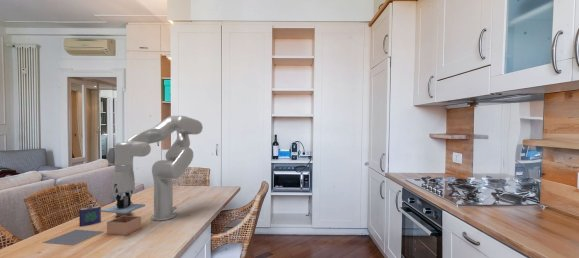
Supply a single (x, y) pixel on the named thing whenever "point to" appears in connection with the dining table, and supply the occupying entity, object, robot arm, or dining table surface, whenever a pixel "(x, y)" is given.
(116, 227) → the open cube shelf
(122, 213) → the coconut
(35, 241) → the dining table surface
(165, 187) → the robot arm
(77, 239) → the mat
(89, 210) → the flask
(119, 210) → the lid
